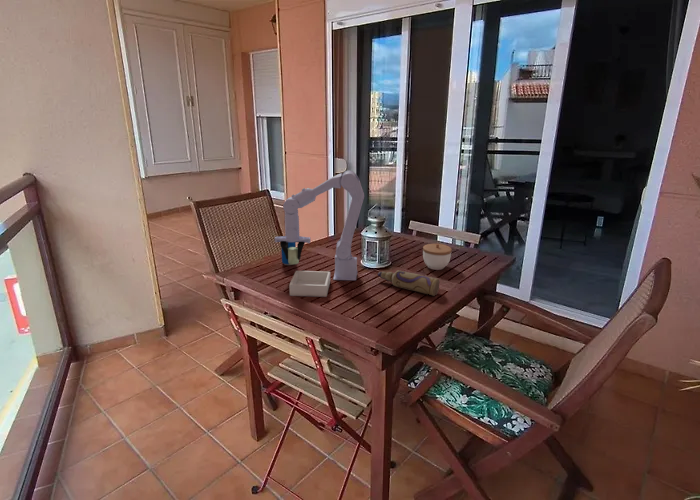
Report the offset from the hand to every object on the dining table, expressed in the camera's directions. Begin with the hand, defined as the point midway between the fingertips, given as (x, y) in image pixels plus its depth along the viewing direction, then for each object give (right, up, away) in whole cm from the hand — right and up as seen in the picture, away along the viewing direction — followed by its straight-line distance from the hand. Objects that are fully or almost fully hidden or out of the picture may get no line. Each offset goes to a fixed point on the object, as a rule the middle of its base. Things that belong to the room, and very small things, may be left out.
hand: (293, 258), depth 166 cm
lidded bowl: (+63, -4, +15) cm, 64 cm away
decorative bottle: (+47, -12, -7) cm, 49 cm away
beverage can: (-4, -3, +17) cm, 18 cm away
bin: (+8, -12, -9) cm, 17 cm away
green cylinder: (0, -2, +1) cm, 2 cm away
